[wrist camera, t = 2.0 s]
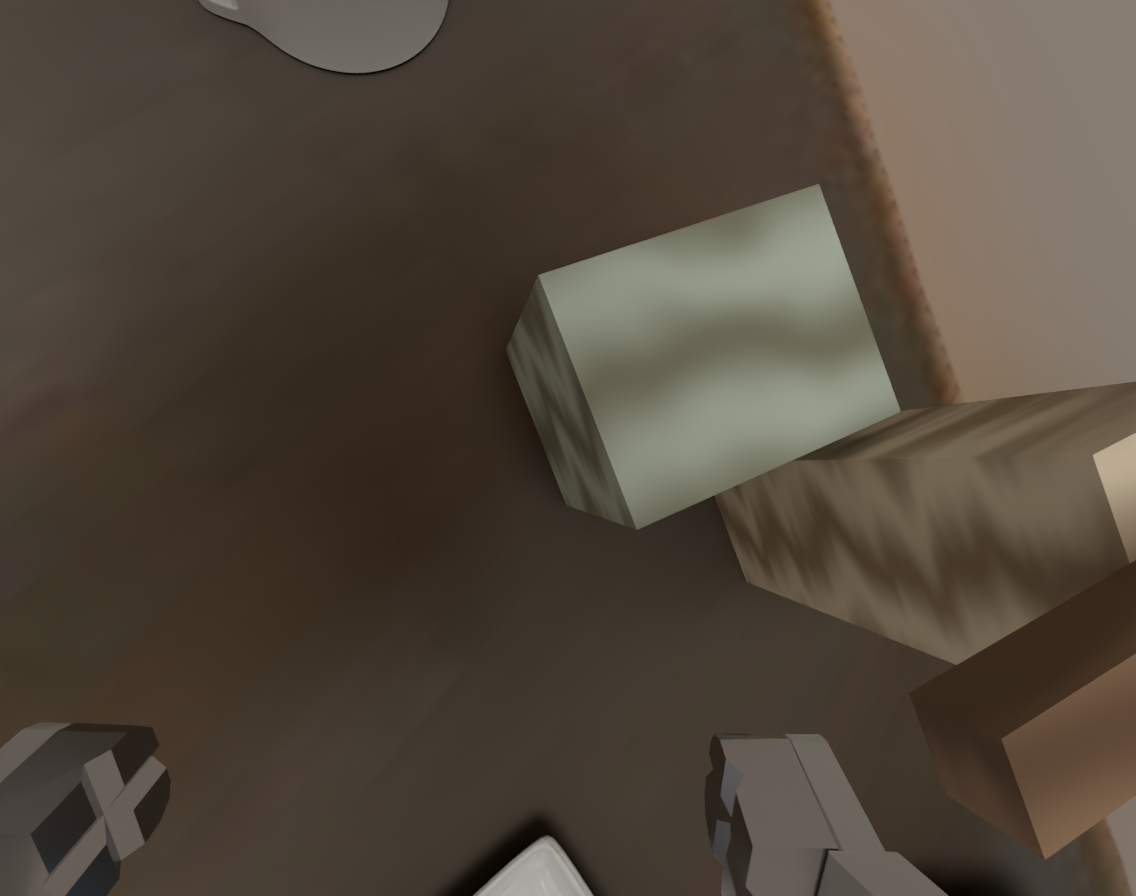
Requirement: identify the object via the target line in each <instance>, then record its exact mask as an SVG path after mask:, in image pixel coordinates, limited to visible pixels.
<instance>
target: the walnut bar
mask: <svg viewBox="0 0 1136 896" xmlns="http://www.w3.org/2000/svg"><path fill="white" fill-rule="evenodd" d="M909 695H910V697H911V700H912V703H913V705H914V708H915V711H916V714H917V716H918V719H919V722H920V724H921V727H922V730H923V733H924V735H925V738H926V741H927V743H928V746H929V749H930V752H931V754H932V757H933V760H934V763H935V765H936V768H937V771H938V773H939V776H940V779H941V782H942V784H943V787H944V790H945V792H946V794H947V795H948V796H950V797H951V798H953V799H954V800H956V801H957V802H959V803H960V804H962V805H963V806H965V807H966V808H968V809H969V810H971V811H972V812H974V813H975V814H977V815H978V816H980V817H981V818H983V819H984V820H986V821H987V822H989V823H990V824H992V825H993V826H995V827H996V828H998V829H999V830H1001V831H1002V832H1004V833H1005V834H1007V835H1008V836H1010V837H1011V838H1013V839H1014V840H1016V841H1017V842H1019V843H1020V844H1022V845H1023V846H1025V847H1026V848H1028V849H1029V850H1031V851H1032V852H1034V853H1035V854H1037V855H1038V856H1040V857H1041V858H1043V859H1044V860H1046V859H1047V858H1048V857H1050V856H1051V855H1053V854H1054V853H1055V852H1057V851H1058V850H1060V849H1061V848H1063V847H1064V846H1065V845H1067V844H1068V843H1070V842H1071V841H1072V840H1074V839H1075V838H1077V837H1078V836H1079V835H1081V834H1082V833H1084V832H1085V831H1086V830H1088V829H1089V828H1091V827H1092V826H1093V825H1095V824H1096V823H1098V822H1099V821H1100V820H1102V819H1103V818H1105V817H1106V816H1107V815H1109V814H1110V813H1112V812H1113V811H1114V810H1116V809H1117V808H1119V807H1120V806H1121V805H1123V804H1124V803H1126V802H1127V801H1128V800H1130V799H1131V798H1133V797H1134V796H1135V795H1136V560H1135V561H1134V562H1132V563H1130V564H1128V565H1127V566H1125V567H1123V568H1122V569H1120V570H1118V571H1116V572H1115V573H1113V574H1111V575H1110V576H1108V577H1106V578H1105V579H1103V580H1101V581H1099V582H1098V583H1096V584H1094V585H1093V586H1091V587H1089V588H1087V589H1086V590H1084V591H1082V592H1081V593H1079V594H1077V595H1075V596H1074V597H1072V598H1070V599H1069V600H1067V601H1065V602H1064V603H1062V604H1060V605H1058V606H1057V607H1055V608H1053V609H1052V610H1050V611H1048V612H1046V613H1045V614H1043V615H1041V616H1040V617H1038V618H1036V619H1034V620H1033V621H1031V622H1029V623H1028V624H1026V625H1024V626H1023V627H1021V628H1019V629H1017V630H1016V631H1014V632H1012V633H1011V634H1009V635H1007V636H1005V637H1004V638H1002V639H1000V640H999V641H997V642H995V643H993V644H992V645H990V646H988V647H987V648H985V649H983V650H982V651H980V652H978V653H976V654H975V655H973V656H971V657H970V658H968V659H966V660H964V661H963V662H961V663H959V664H958V665H956V666H954V667H952V668H951V669H949V670H947V671H946V672H944V673H942V674H941V675H939V676H937V677H935V678H934V679H932V680H930V681H929V682H927V683H925V684H923V685H922V686H920V687H918V688H917V689H915V690H913V691H911V692H910V693H909Z"/></svg>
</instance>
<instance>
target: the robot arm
mask: <svg viewBox="0 0 1136 896" xmlns="http://www.w3.org/2000/svg"><path fill="white" fill-rule="evenodd" d="M198 1H199V2H200V4H201V5H202V6H203V7H204V8H206V9H207V10H209V11H210V12H212V13H214V14H217V15H219V16H222V17H224V18H227V19H230V20H233V21H236V22H239V23H243V24H246V25H248V26H250V27H251V28H253V29H255V30H256V31H258V32H259V33H260V34H262V35H263V36H264V37H266V38H267V39H268V40H269V41H271V42H272V43H273V44H275V45H276V46H277V47H279V48H280V49H282V50H283V51H285V52H286V53H288V54H290V55H292V56H293V57H295V58H297V59H299V60H301V61H304V62H306V63H308V64H311V65H314V66H317V67H320V68H324V69H328V70H332V71H338V72H347V73H366V72H374V71H380V70H384V69H388V68H391V67H394V66H396V65H399V64H401V63H403V62H405V61H407V60H409V59H410V58H412V57H413V56H415V55H416V54H417V53H419V52H420V51H421V50H422V49H423V48H424V47H425V46H426V45H427V44H428V43H429V42H430V41H431V40H432V38H433V37H434V36H435V34H436V33H437V31H438V29H439V27H440V26H441V24H442V21H443V19H444V16H445V13H446V10H447V5H448V1H449V0H198ZM158 746H159V743H158V741H157V738H156V736H155V733H154V731H153V728H152V727H145V726H134V725H112V724H89V723H52V722H39V723H37V724H35V725H32V726H30V727H27V728H25V729H23V730H21V731H20V732H19V733H18V734H17V735H15V736H14V737H13V738H12V739H11V740H10V741H8V742H7V743H6V744H5V745H4V746H3V747H1V748H0V896H107V894H108V893H109V892H110V890H111V889H112V888H113V886H114V885H115V883H116V882H117V881H118V879H119V877H120V866H121V860H122V859H124V858H125V857H126V856H128V855H129V854H131V853H132V852H133V851H135V850H136V849H138V848H139V847H140V846H142V845H143V844H145V842H146V841H147V840H148V838H149V837H150V835H151V834H152V832H153V831H154V830H155V828H156V827H157V825H158V824H159V823H160V821H161V818H162V816H163V813H164V811H165V808H166V805H167V803H168V800H169V798H170V778H169V774H168V771H167V768H166V767H165V766H164V765H162V764H161V763H160V762H159V761H158V760H156V759H155V758H154V757H153V754H154V753H155V751H156V749H157V748H158ZM709 755H710V758H711V762H712V766H713V771H712V772H711V773H710V774H708V775H707V776H706V784H705V816H706V822H707V829H708V835H709V839H710V844H711V848H712V853H713V854H714V855H715V856H716V857H717V858H718V860H719V861H720V862H721V863H722V864H723V865H724V870H723V877H722V884H721V891H722V895H723V896H948V895H947V894H946V893H945V892H944V891H943V890H941V889H940V888H939V887H938V886H937V885H935V884H934V883H933V882H932V881H931V880H930V879H928V878H927V877H926V876H925V875H924V874H923V873H921V872H920V871H919V870H918V869H917V868H915V867H914V866H913V865H912V864H911V863H910V862H908V861H907V860H906V859H905V858H904V857H903V856H901V855H900V854H899V853H898V852H886V851H885V850H884V848H883V846H882V844H881V842H880V840H879V838H878V837H877V835H876V833H875V831H874V829H873V827H872V825H871V823H870V822H869V820H868V818H867V816H866V814H865V812H864V810H863V808H862V807H861V805H860V803H859V801H858V799H857V797H856V795H855V793H854V791H853V790H852V788H851V786H850V784H849V782H848V780H847V778H846V776H845V775H844V773H843V771H842V769H841V767H840V765H839V763H838V761H837V760H836V758H835V756H834V754H833V752H832V750H831V748H830V746H829V744H828V743H827V741H826V740H825V739H824V738H823V737H822V736H821V735H819V734H784V735H782V734H714V735H713V737H712V739H711V744H710V751H709Z"/></svg>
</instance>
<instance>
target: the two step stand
mask: <svg viewBox="0 0 1136 896" xmlns="http://www.w3.org/2000/svg"><path fill="white" fill-rule="evenodd" d="M505 351H506V353H507V356H508V358H509V361H510V363H511V366H512V368H513V371H514V373H515V376H516V379H517V381H518V384H519V386H520V389H521V391H522V394H523V396H524V399H525V402H526V404H527V407H528V409H529V412H530V414H531V417H532V419H533V422H534V424H535V427H536V430H537V432H538V435H539V437H540V440H541V442H542V445H543V447H544V450H545V453H546V455H547V458H548V460H549V463H550V465H551V468H552V470H553V473H554V475H555V478H556V481H557V483H558V486H559V488H560V491H561V493H562V496H563V498H564V501H565V504H566V506H569V507H572V508H575V509H578V510H581V511H584V512H586V513H589V514H592V515H595V516H598V517H601V518H604V519H607V520H610V521H613V522H615V523H618V524H621V525H624V526H627V527H630V528H633V529H636V530H638V529H640V528H642V527H645V526H647V525H649V524H651V523H653V522H656V521H658V520H660V519H662V518H665V517H667V516H669V515H671V514H674V513H676V512H678V511H680V510H682V509H685V508H687V507H689V506H691V505H694V504H696V503H698V502H700V501H703V500H705V499H707V498H709V497H712V496H714V497H715V500H716V503H717V505H718V508H719V511H720V513H721V516H722V518H723V521H724V524H725V526H726V529H727V532H728V534H729V537H730V540H731V542H732V545H733V547H734V550H735V553H736V555H737V558H738V561H739V563H740V566H741V569H742V571H743V574H744V576H745V579H746V582H748V583H750V584H753V585H755V586H758V587H760V588H763V589H765V590H768V591H770V592H773V593H776V594H778V595H781V596H783V597H786V598H788V599H791V600H793V601H796V602H798V603H801V604H803V605H806V606H809V607H811V608H814V609H816V610H819V611H821V612H824V613H826V614H829V615H831V616H834V617H836V618H839V619H842V620H844V621H847V622H849V623H852V624H854V625H857V626H859V627H862V628H864V629H867V630H869V631H872V632H874V633H877V634H880V635H882V636H885V637H887V638H890V639H892V640H895V641H897V642H900V643H902V644H905V645H907V646H910V647H913V648H915V649H918V650H920V651H923V652H925V653H928V654H930V655H933V656H935V657H938V658H940V659H943V660H946V661H948V662H951V663H953V664H956V665H958V664H959V663H961V662H963V661H964V660H966V659H968V658H970V657H971V656H973V655H975V654H976V653H978V652H980V651H982V650H983V649H985V648H987V647H988V646H990V645H992V644H993V643H995V642H997V641H999V640H1000V639H1002V638H1004V637H1005V636H1007V635H1009V634H1011V633H1012V632H1014V631H1016V630H1017V629H1019V628H1021V627H1023V626H1024V625H1026V624H1028V623H1029V622H1031V621H1033V620H1034V619H1036V618H1038V617H1040V616H1041V615H1043V614H1045V613H1046V612H1048V611H1050V610H1052V609H1053V608H1055V607H1057V606H1058V605H1060V604H1062V603H1064V602H1065V601H1067V600H1069V599H1070V598H1072V597H1074V596H1075V595H1077V594H1079V593H1081V592H1082V591H1084V590H1086V589H1087V588H1089V587H1091V586H1093V585H1094V584H1096V583H1098V582H1099V581H1101V580H1103V579H1105V578H1106V577H1108V576H1110V575H1111V574H1113V573H1115V572H1116V571H1118V570H1120V569H1122V568H1123V567H1125V566H1127V565H1128V564H1130V563H1132V562H1134V561H1135V560H1136V382H1130V383H1122V384H1114V385H1106V386H1098V387H1090V388H1082V389H1075V390H1066V391H1058V392H1050V393H1042V394H1034V395H1026V396H1018V397H1010V398H1002V399H994V400H986V401H978V402H970V403H962V404H954V405H946V406H938V407H930V408H922V409H914V410H906V411H900V408H899V405H898V402H897V400H896V397H895V394H894V391H893V389H892V386H891V383H890V380H889V377H888V375H887V372H886V369H885V366H884V364H883V361H882V358H881V355H880V352H879V350H878V347H877V344H876V341H875V339H874V336H873V333H872V330H871V327H870V325H869V322H868V319H867V316H866V314H865V311H864V308H863V305H862V302H861V300H860V297H859V294H858V291H857V289H856V286H855V283H854V280H853V277H852V275H851V272H850V269H849V266H848V264H847V261H846V258H845V255H844V252H843V250H842V247H841V244H840V241H839V239H838V236H837V233H836V230H835V227H834V225H833V222H832V219H831V216H830V214H829V211H828V208H827V205H826V202H825V200H824V197H823V194H822V191H821V188H820V186H819V184H817V185H814V186H811V187H808V188H805V189H802V190H799V191H796V192H793V193H790V194H787V195H783V196H780V197H777V198H774V199H771V200H768V201H765V202H762V203H759V204H756V205H753V206H750V207H747V208H743V209H740V210H737V211H734V212H731V213H728V214H725V215H722V216H719V217H716V218H713V219H710V220H706V221H703V222H700V223H697V224H694V225H691V226H688V227H685V228H682V229H679V230H676V231H673V232H670V233H666V234H663V235H660V236H657V237H654V238H651V239H648V240H645V241H642V242H639V243H636V244H633V245H630V246H626V247H623V248H620V249H617V250H614V251H611V252H608V253H605V254H602V255H599V256H596V257H593V258H589V259H586V260H583V261H580V262H577V263H574V264H571V265H568V266H565V267H562V268H559V269H556V270H553V271H549V272H546V273H543V274H540V275H538V277H537V279H536V282H535V284H534V286H533V288H532V291H531V293H530V295H529V298H528V300H527V302H526V304H525V307H524V309H523V311H522V314H521V316H520V318H519V320H518V323H517V325H516V327H515V330H514V332H513V334H512V336H511V339H510V341H509V343H508V346H507V348H506V350H505Z"/></svg>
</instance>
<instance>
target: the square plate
mask: <svg viewBox="0 0 1136 896" xmlns="http://www.w3.org/2000/svg"><path fill="white" fill-rule="evenodd" d="M473 896H594V895H593V893H592V892H591V890H590V889H589V887H588V886H587V884H586V883H585V881H584V880H583V878H582V876H581V875H580V873H579V872H578V870H577V869H576V867H575V866H574V864H573V863H572V861H571V860H570V859H569V857H568V856H567V854H566V853H565V851H564V850H563V849H562V847H561V846H560V845H559V844H558V842H557V841H556V840H555V839H554V838H553V837H551V836H549V835H545V836H542V837H540V838H539V839H537V840H536V841H535V842H533V843H532V844H530V845H529V846H528V847H527V848H525V849H524V850H523V851H521V852H520V853H519V854H518V855H517V856H516V857H514V858H513V859H512V860H511V861H510V862H509V863H508V864H507V865H505V866H504V867H503V868H502V869H501V870H500V871H499V872H498V873H496V874H495V875H494V876H493V877H492V878H491V879H490V880H489V881H488V882H487V883H486V884H485V885H483V886H482V887H481V888H480V889H479V890H478V891H477V892H476V893H475V894H474V895H473Z"/></svg>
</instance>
